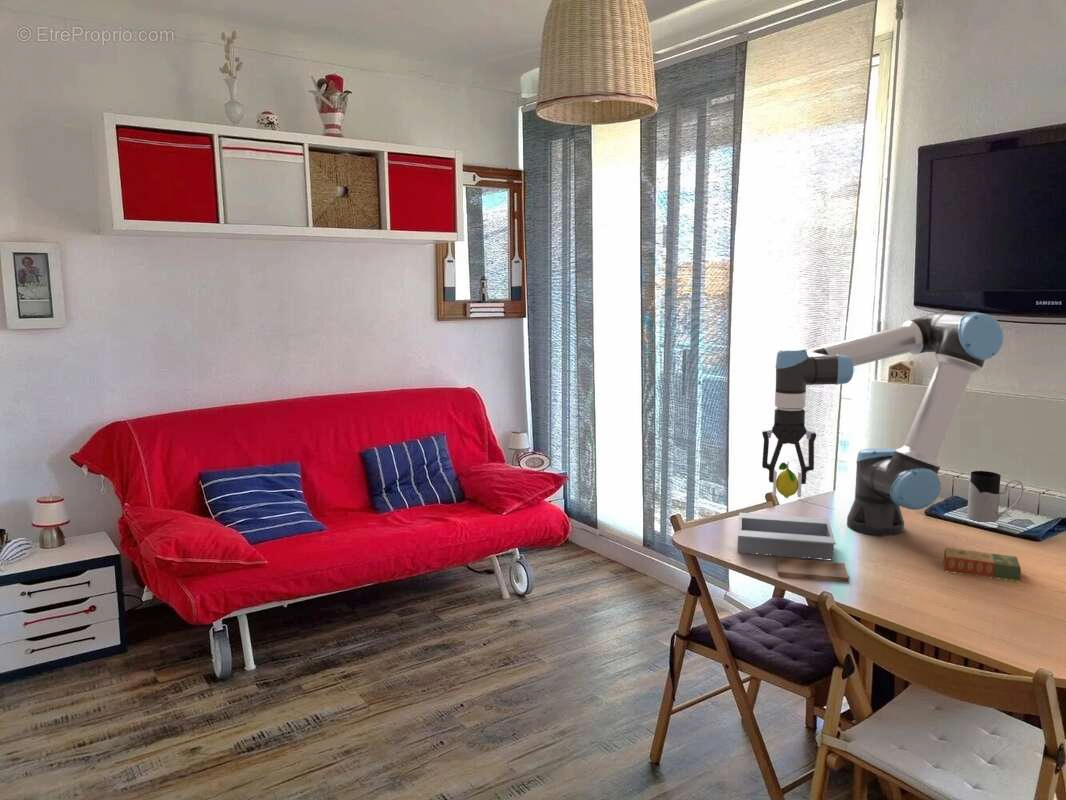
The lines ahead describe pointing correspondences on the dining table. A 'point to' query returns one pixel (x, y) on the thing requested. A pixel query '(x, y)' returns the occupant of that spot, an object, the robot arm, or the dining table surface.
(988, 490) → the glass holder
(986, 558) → the carton
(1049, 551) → the dining table surface
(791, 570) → the walnut board
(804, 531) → the gray open box
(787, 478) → the lemon
